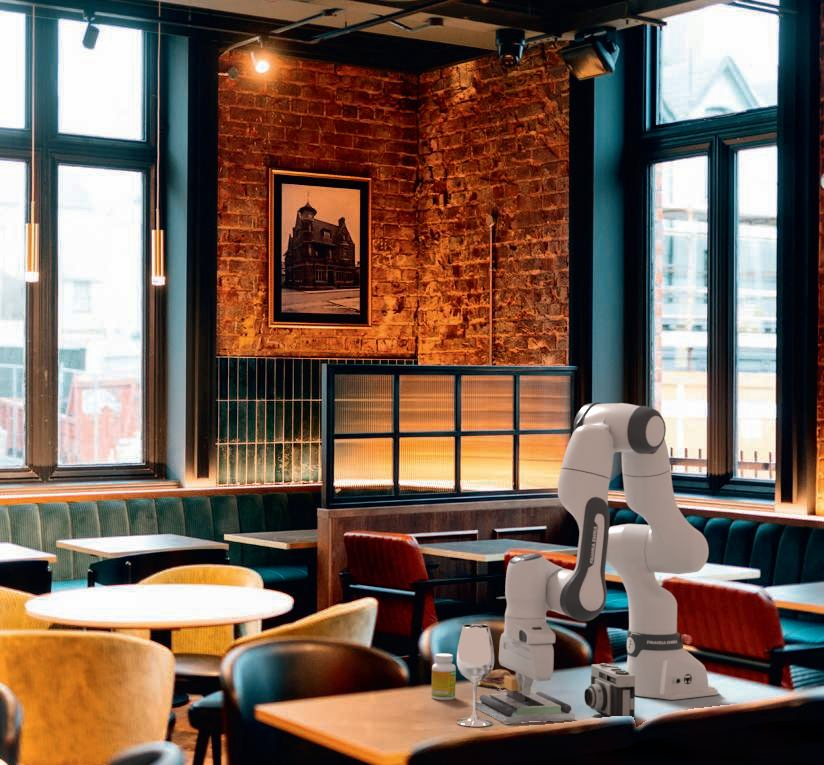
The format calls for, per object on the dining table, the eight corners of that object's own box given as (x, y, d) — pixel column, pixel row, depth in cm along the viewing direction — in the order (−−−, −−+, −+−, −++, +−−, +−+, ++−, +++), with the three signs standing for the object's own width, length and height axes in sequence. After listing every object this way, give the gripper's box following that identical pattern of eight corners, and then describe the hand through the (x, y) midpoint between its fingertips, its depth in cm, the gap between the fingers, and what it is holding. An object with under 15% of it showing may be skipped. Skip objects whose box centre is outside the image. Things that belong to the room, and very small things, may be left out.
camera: (573, 708, 290) (574, 662, 291) (608, 706, 293) (608, 661, 293) (600, 722, 277) (601, 674, 277) (636, 720, 279) (636, 673, 279)
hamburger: (457, 689, 311) (457, 663, 311) (491, 680, 322) (492, 656, 322) (505, 697, 302) (506, 670, 303) (539, 688, 313) (540, 663, 314)
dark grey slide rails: (541, 698, 293) (541, 690, 293) (572, 712, 278) (572, 705, 278) (478, 701, 288) (478, 694, 288) (507, 716, 273) (507, 709, 273)
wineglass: (453, 718, 277) (455, 623, 277) (490, 718, 277) (492, 623, 278) (457, 727, 269) (459, 628, 270) (495, 727, 270) (497, 629, 270)
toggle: (520, 698, 290) (520, 675, 290) (528, 702, 286) (528, 678, 286) (503, 699, 288) (504, 675, 289) (511, 703, 285) (511, 679, 285)
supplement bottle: (453, 701, 295) (453, 657, 295) (429, 699, 296) (430, 656, 296) (457, 696, 300) (457, 653, 300) (433, 695, 301) (434, 652, 301)
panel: (542, 704, 293) (542, 690, 293) (575, 720, 278) (575, 705, 278) (475, 708, 288) (476, 694, 288) (505, 724, 273) (505, 709, 273)
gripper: (492, 623, 293) (491, 685, 292) (531, 637, 273) (530, 704, 273) (518, 622, 295) (517, 684, 294) (559, 636, 276) (558, 703, 275)
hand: (524, 694), depth 284 cm, fingers closed
